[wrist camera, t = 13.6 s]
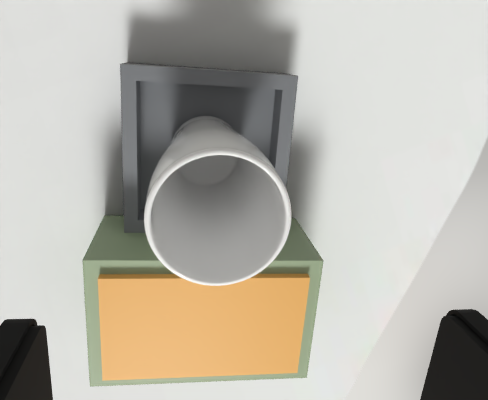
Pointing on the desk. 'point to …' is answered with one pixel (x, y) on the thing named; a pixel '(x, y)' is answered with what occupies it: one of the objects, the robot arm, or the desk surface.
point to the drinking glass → (215, 205)
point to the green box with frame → (176, 288)
